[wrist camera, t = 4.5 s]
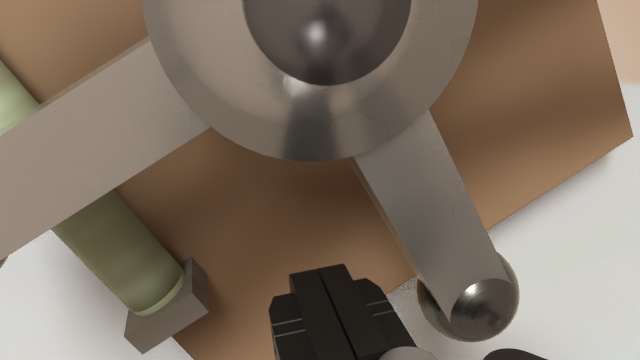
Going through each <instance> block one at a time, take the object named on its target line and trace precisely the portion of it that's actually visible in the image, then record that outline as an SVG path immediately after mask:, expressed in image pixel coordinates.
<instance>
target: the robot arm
mask: <svg viewBox="0 0 640 360" xmlns="http://www.w3.org/2000/svg"><path fill="white" fill-rule="evenodd" d="M289 285H290V293H289V294H284V295H279V296H274V297H273V299H272V302H271V304H270V307H269V310H268V311H269V318H270V326H271V333H272V340H273V347H274V355H275V360H438V359H437V358H436V357H435V356H434V355H432V354H431V353H429V352H428V351H426V350H423V349H420V348H417V346H416V344H415V343H414V341H413V340H412V338H411V336H410V335H409V333H408V331H407V330H406V328H405V327H404V325H403V323H402V322H401V320H400V318H399V317H398V315H397V314H396V312H394V309H393V307H392V305H391V304H390V302H388V299H387V297H386V296H385V294H384V292H383V291H382V289H381V288H380V287H379V286H378V285H376V284H375V283H373V282H372V281H370V280H369V279H367V278H362V279H357V280H353V279H352V277H351V275H350V273H349V271H348V270H347V268H346V266H345V264H337V265H332V266H327V267H322V268H317V270H316V269H312V270H307V271H302V272H297V273H292V274H289ZM484 360H547V359H544V358H542V357H539V356H536V355H534V354H531V353H528V352H525V351H522V350H518V349H499V350H495V351H493V352H491V353H489V354H488V355H487V356H486V357H485V358H484Z"/></svg>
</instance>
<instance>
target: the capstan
mask: <svg viewBox="0 0 640 360" xmlns="http://www.w3.org/2000/svg"><path fill="white" fill-rule="evenodd" d="M141 1H142V7H143V12H144V18H145V23H146V27H147V30H148V33H149V36H147V37H145V38H144V39H142V40H141V41H139V42H138V43H136V44H134V45H133V46H131V47H130V48H128V49H127V50H125V51H123V52H122V53H120V54H119V55H117V56H115V57H114V58H112V59H111V60H109V61H108V62H106V63H104V64H103V65H101V66H100V67H98V68H96V69H95V70H93V71H92V72H90V73H89V74H87V75H85V76H84V77H82V78H81V79H79V80H78V81H76V82H74V83H73V84H71V85H70V86H68V87H66V88H65V89H63V90H62V91H60V92H59V93H57V94H55V95H54V96H52V97H51V98H49V99H48V100H46V101H44V102H43V103H41V104H40V105H38V106H36V107H35V108H33V109H32V110H30V111H29V112H27V113H25V114H24V115H22V116H21V117H19V118H18V119H16V120H14V121H13V122H11V123H10V124H8V125H6V126H5V127H3V128H2V129H0V268H1V267H2V265H3V264H4V263H5V261H6V259H7V257H8V256H9V255H10V254H11V253H13V252H15V251H16V250H18V249H19V248H21V247H22V246H24V245H26V244H27V243H29V242H30V241H32V240H33V239H35V238H37V237H38V236H40V235H41V234H43V233H44V232H46V231H48V230H49V229H51V228H52V227H54V226H56V225H57V224H59V223H60V222H62V221H63V220H65V219H67V218H68V217H70V216H71V215H73V214H74V213H76V212H78V211H79V210H81V209H82V208H84V207H85V206H87V205H89V204H90V203H92V202H93V201H95V200H96V199H98V198H100V197H101V196H103V195H104V194H106V193H108V192H109V191H111V190H112V189H114V188H115V187H117V186H119V185H120V184H122V183H123V182H125V181H126V180H128V179H130V178H131V177H133V176H134V175H136V174H137V173H139V172H141V171H142V170H144V169H145V168H147V167H149V166H150V165H152V164H153V163H155V162H156V161H158V160H160V159H161V158H163V157H164V156H166V155H167V154H169V153H171V152H172V151H174V150H175V149H177V148H178V147H180V146H182V145H183V144H185V143H186V142H188V141H189V140H191V139H193V138H194V137H196V136H197V135H199V134H201V133H202V132H204V131H205V130H207V129H208V128H210V127H212V128H213V129H215V130H216V131H217V132H219V133H220V134H221V135H223V136H224V137H226V138H228V139H229V140H231V141H233V142H235V143H237V144H239V145H240V146H242V147H244V148H247V149H249V150H252V151H255V152H257V153H260V154H262V155H266V156H270V157H274V158H278V159H282V160H291V161H300V162H322V161H329V160H336V159H342V158H346V159H347V160H348V162H349V164H350V165H351V167H352V169H353V171H354V172H355V174H356V176H357V177H358V179H359V181H360V182H361V184H362V186H363V188H364V189H365V191H366V193H367V194H368V196H369V198H370V199H371V201H372V203H373V204H374V206H375V208H376V210H377V211H378V213H379V215H380V216H381V218H382V220H383V221H384V223H385V225H386V227H387V228H388V230H389V232H390V233H391V235H392V237H393V238H394V240H395V242H396V243H397V245H398V247H399V249H400V250H401V252H402V254H403V255H404V257H405V259H406V260H407V262H408V264H409V266H410V267H411V269H412V271H413V272H414V274H415V276H416V277H417V279H418V282H417V295H418V301H419V304H420V307H421V310H422V312H423V314H424V315H425V317H426V319H427V320H428V321H429V322H430V324H431V325H432V326H433V327H434V328H435V329H437V330H438V331H439V332H441V333H442V334H444V335H445V336H447V337H449V338H452V339H455V340H458V341H464V342H479V341H484V340H488V339H490V338H492V337H494V336H496V335H498V334H499V333H501V332H502V331H503V330H504V329H505V328H506V327H507V326H508V325H509V324H510V323H511V321H512V320H513V318H514V316H515V314H516V311H517V308H518V304H519V286H518V281H517V278H516V276H515V273H514V271H513V269H512V268H511V266H510V265H509V263H508V262H507V261H506V260H505V259H504V258H503V257H502V256H501V255H500V254H499V253H498V252H496V250H495V248H494V246H493V244H492V242H491V240H490V238H489V236H488V233H487V231H486V229H485V227H484V225H483V223H482V221H481V219H480V217H479V214H478V212H477V210H476V208H475V206H474V204H473V202H472V200H471V198H470V196H469V193H468V191H467V189H466V187H465V185H464V183H463V181H462V179H461V177H460V174H459V172H458V170H457V168H456V166H455V164H454V162H453V160H452V158H451V156H450V153H449V151H448V149H447V147H446V145H445V143H444V141H443V139H442V137H441V134H440V132H439V130H438V128H437V126H436V124H435V122H434V120H433V118H432V116H431V113H430V111H429V108H430V107H431V105H432V104H433V103H434V102H435V101H436V100H437V98H438V97H439V96H440V95H441V93H442V92H443V90H444V89H445V88H446V86H447V85H448V83H449V82H450V80H451V79H452V77H453V75H454V73H455V71H456V69H457V68H458V66H459V64H460V62H461V60H462V58H463V55H464V53H465V50H466V48H467V45H468V43H469V40H470V37H471V33H472V29H473V26H474V22H475V18H476V12H477V6H478V1H479V0H141Z"/></svg>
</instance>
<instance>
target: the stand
mask: <svg viewBox="0 0 640 360" xmlns="http://www.w3.org/2000/svg"><path fill="white" fill-rule="evenodd" d="M147 36H149V33H148V30H147V27H146V23H145V18H144V12H143V7H142V1H141V0H0V129H2V128H3V127H5V126H6V125H8V124H10V123H11V122H13V121H14V120H16V119H18V118H19V117H21V116H22V115H24V114H25V113H27V112H29V111H30V110H32V109H33V108H35V107H36V106H38V105H40V104H41V103H43V102H44V101H46V100H48V99H49V98H51V97H52V96H54V95H55V94H57V93H59V92H60V91H62V90H63V89H65V88H66V87H68V86H70V85H71V84H73V83H74V82H76V81H78V80H79V79H81V78H82V77H84V76H85V75H87V74H89V73H90V72H92V71H93V70H95V69H96V68H98V67H100V66H101V65H103V64H104V63H106V62H108V61H109V60H111V59H112V58H114V57H115V56H117V55H119V54H120V53H122V52H123V51H125V50H127V49H128V48H130V47H131V46H133V45H134V44H136V43H138V42H139V41H141V40H142V39H144V38H145V37H147ZM429 111H430V113H431V116H432V118H433V120H434V122H435V124H436V126H437V128H438V130H439V132H440V134H441V137H442V139H443V141H444V143H445V145H446V147H447V149H448V151H449V153H450V156H451V158H452V160H453V162H454V164H455V166H456V168H457V170H458V172H459V174H460V177H461V179H462V181H463V183H464V185H465V187H466V189H467V191H468V193H469V196H470V198H471V200H472V202H473V204H474V206H475V208H476V210H477V212H478V214H479V217H480V219H481V221H482V223H483V225H484V227H485V229H486V230H487V229H489V228H491V227H492V226H494V225H495V224H497V223H498V222H500V221H502V220H503V219H505V218H506V217H508V216H509V215H511V214H513V213H514V212H516V211H517V210H519V209H520V208H522V207H524V206H525V205H527V204H528V203H530V202H531V201H533V200H535V199H536V198H538V197H539V196H541V195H542V194H544V193H546V192H547V191H549V190H550V189H552V188H553V187H555V186H557V185H558V184H560V183H561V182H563V181H564V180H566V179H568V178H569V177H571V176H572V175H574V174H575V173H577V172H579V171H580V170H582V169H583V168H585V167H586V166H588V165H590V164H591V163H593V162H594V161H596V160H597V159H599V158H601V157H602V156H604V155H605V154H607V153H608V152H610V151H612V150H613V149H615V148H616V147H618V146H619V145H621V144H623V143H624V142H626V141H627V140H629V139H630V138H632V137H633V133H632V129H631V126H630V122H629V118H628V115H627V111H626V107H625V103H624V100H623V96H622V92H621V89H620V85H619V81H618V78H617V74H616V70H615V67H614V63H613V60H612V56H611V52H610V48H609V45H608V41H607V37H606V33H605V30H604V26H603V22H602V19H601V15H600V12H599V8H598V4H597V0H479V1H478V6H477V12H476V18H475V22H474V26H473V29H472V33H471V37H470V40H469V43H468V45H467V48H466V50H465V53H464V55H463V58H462V60H461V62H460V64H459V66H458V68H457V69H456V71H455V73H454V75H453V77H452V79H451V80H450V82H449V83H448V85H447V86H446V88H445V89H444V90H443V92H442V93H441V95H440V96H439V97H438V98H437V100H436V101H435V102H434V103H433V104H432V105H431V107H430V108H429ZM51 230H52V231H53V232H54V233H55V234H56V235H57V236H58V237H59V238H60V239H61V240H62V241H63V242H64V243H65V244H66V245H67V246H68V247H69V248H70V249H71V250H72V251H73V252H74V253H75V254H76V255H77V256H78V257H79V258H80V259H81V260H82V261H83V262H84V263H85V264H86V265H87V266H88V267H89V268H90V269H91V270H92V271H93V272H94V273H95V274H96V275H97V277H98V278H99V279H100V280H101V281H102V282H103V283H104V284H105V285H106V286H107V287H108V288H109V289H110V290H111V291H112V292H113V293H114V294H115V295H116V296H117V297H118V298H119V299H120V300H121V301H122V302H123V303H124V304H125V305H126V306H127V307H128V308H129V311H128V316H127V322H126V327H125V333H124V337H125V338H126V339H127V340H128V341H129V342H130V343H131V344H132V345H133V346H134V347H135V348H136V349H137V350H138V351H140V352H141V353H142V354H144V353H145V352H147V351H149V350H150V349H152V348H153V347H155V346H157V345H158V344H160V343H161V342H163V341H164V340H166V339H168V338H169V337H171V336H172V337H173V338H174V339H175V340H176V341H177V342H178V343H179V345H180V346H181V347H182V348H183V349H184V350H185V351H186V352H187V353H188V354H189V355H190V356H191V357H192V358H193V359H194V360H275V355H274V347H273V340H272V333H271V326H270V318H269V311H268V310H269V307H270V304H271V302H272V299H273V297H274V296H279V295H284V294H289V293H290V285H289V274H292V273H297V272H302V271H307V270H312V269H316V270H317V268H322V267H327V266H332V265H337V264H345V266H346V268H347V270H348V271H349V273H350V275H351V277H352V279H353V280H357V279H362V278H367V279H369V280H370V281H372V282H373V283H375V284H376V285H378V286H379V287H380V288H381V289H382V291H383V292H384V294H387V293H389V292H390V291H392V290H393V289H395V288H396V287H398V286H400V285H401V284H403V283H404V282H406V281H407V280H409V279H410V278H412V277H414V276H415V274H414V272H413V271H412V269H411V267H410V266H409V264H408V262H407V260H406V259H405V257H404V255H403V254H402V252H401V250H400V249H399V247H398V245H397V243H396V242H395V240H394V238H393V237H392V235H391V233H390V232H389V230H388V228H387V227H386V225H385V223H384V221H383V220H382V218H381V216H380V215H379V213H378V211H377V210H376V208H375V206H374V204H373V203H372V201H371V199H370V198H369V196H368V194H367V193H366V191H365V189H364V188H363V186H362V184H361V182H360V181H359V179H358V177H357V176H356V174H355V172H354V171H353V169H352V167H351V165H350V164H349V162H348V160H347V159H346V158H342V159H336V160H329V161H322V162H300V161H291V160H282V159H278V158H274V157H270V156H266V155H262V154H260V153H257V152H255V151H252V150H249V149H247V148H244V147H242V146H240V145H239V144H237V143H235V142H233V141H231V140H229V139H228V138H226V137H224V136H223V135H221V134H220V133H219V132H217V131H216V130H215V129H213V128H212V127H210V128H208V129H207V130H205V131H204V132H202V133H201V134H199V135H197V136H196V137H194V138H193V139H191V140H189V141H188V142H186V143H185V144H183V145H182V146H180V147H178V148H177V149H175V150H174V151H172V152H171V153H169V154H167V155H166V156H164V157H163V158H161V159H160V160H158V161H156V162H155V163H153V164H152V165H150V166H149V167H147V168H145V169H144V170H142V171H141V172H139V173H137V174H136V175H134V176H133V177H131V178H130V179H128V180H126V181H125V182H123V183H122V184H120V185H119V186H117V187H115V188H114V189H112V190H111V191H109V192H108V193H106V194H104V195H103V196H101V197H100V198H98V199H96V200H95V201H93V202H92V203H90V204H89V205H87V206H85V207H84V208H82V209H81V210H79V211H78V212H76V213H74V214H73V215H71V216H70V217H68V218H67V219H65V220H63V221H62V222H60V223H59V224H57V225H56V226H54V227H52V228H51Z"/></svg>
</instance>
